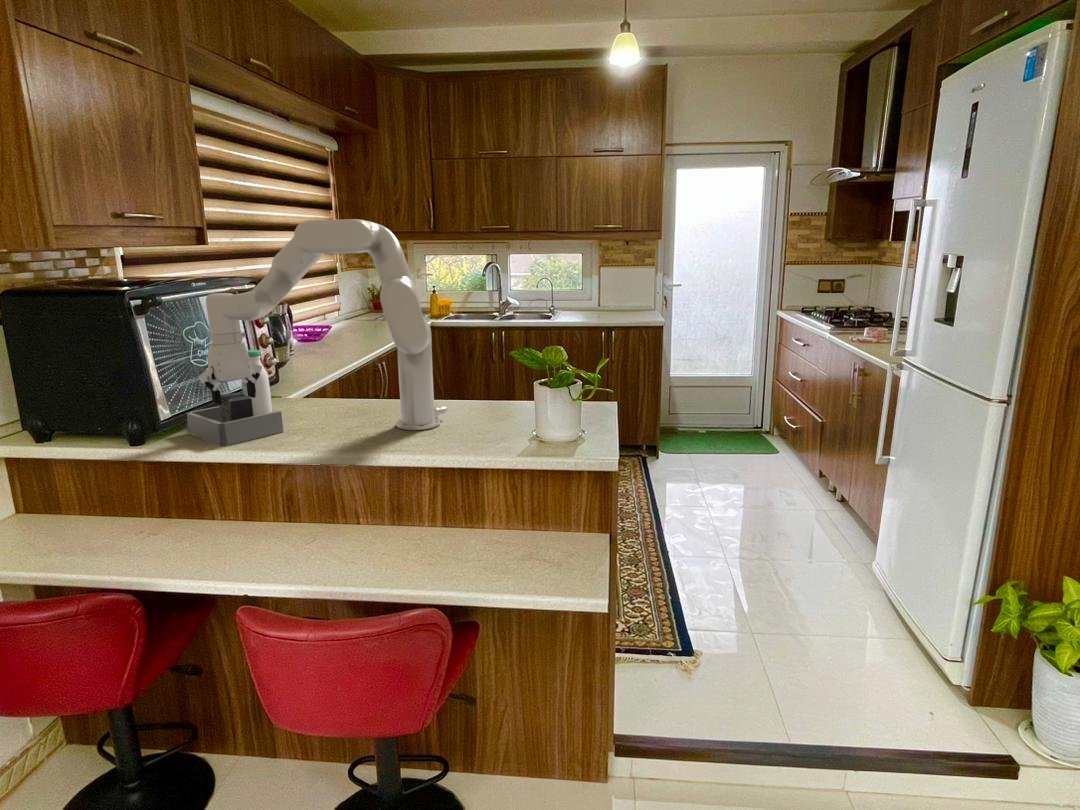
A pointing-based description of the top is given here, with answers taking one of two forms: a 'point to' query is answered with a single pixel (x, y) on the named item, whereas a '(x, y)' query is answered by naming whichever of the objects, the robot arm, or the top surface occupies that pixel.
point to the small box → (235, 407)
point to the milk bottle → (259, 387)
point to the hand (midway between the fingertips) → (235, 400)
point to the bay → (232, 426)
